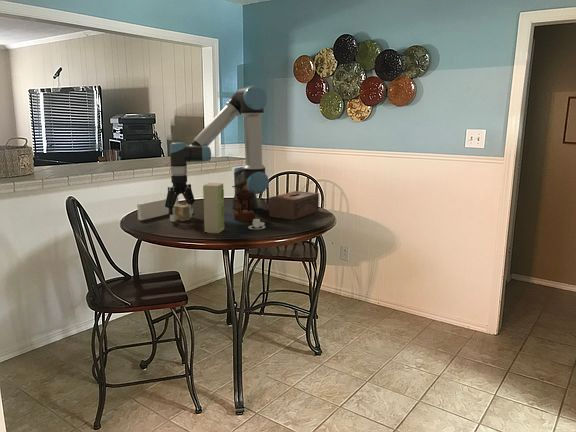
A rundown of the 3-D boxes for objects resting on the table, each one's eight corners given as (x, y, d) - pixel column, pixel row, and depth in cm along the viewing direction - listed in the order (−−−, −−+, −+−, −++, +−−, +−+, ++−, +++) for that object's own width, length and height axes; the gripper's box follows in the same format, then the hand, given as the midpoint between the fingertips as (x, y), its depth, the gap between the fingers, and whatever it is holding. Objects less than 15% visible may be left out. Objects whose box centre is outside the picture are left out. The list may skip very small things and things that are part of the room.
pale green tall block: (220, 233, 205) (218, 185, 200) (204, 232, 206) (202, 185, 202) (226, 229, 212) (224, 183, 208) (210, 228, 214) (209, 182, 209)
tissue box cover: (293, 220, 233) (293, 200, 231) (269, 216, 240) (269, 197, 238) (318, 211, 254) (318, 193, 252) (295, 208, 261) (295, 191, 259)
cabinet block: (190, 219, 233) (189, 205, 231) (183, 221, 229) (182, 207, 227) (179, 217, 236) (178, 204, 235) (172, 219, 232) (171, 205, 231)
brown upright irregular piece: (245, 222, 225) (241, 181, 222) (227, 221, 231) (224, 182, 228) (263, 217, 238) (260, 178, 235) (246, 216, 244) (243, 178, 240)
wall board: (194, 213, 248) (194, 198, 246) (155, 222, 225) (154, 206, 223) (178, 210, 254) (177, 196, 253) (138, 220, 231) (137, 204, 229)
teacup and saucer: (261, 225, 222) (261, 216, 221) (270, 228, 216) (270, 219, 215) (245, 227, 218) (244, 218, 217) (253, 231, 211) (253, 222, 210)
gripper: (189, 171, 240) (191, 214, 244) (155, 176, 220) (157, 222, 225) (201, 172, 236) (202, 215, 240) (167, 177, 216) (169, 224, 221)
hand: (181, 219), depth 233 cm, fingers open, 11 cm apart
